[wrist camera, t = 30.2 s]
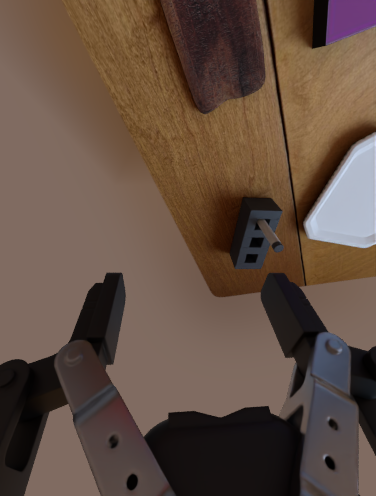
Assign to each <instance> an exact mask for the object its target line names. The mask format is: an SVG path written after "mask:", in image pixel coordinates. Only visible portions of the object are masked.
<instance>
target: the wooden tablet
mask: <svg viewBox="0 0 376 496" xmlns="http://www.w3.org/2000/svg"><path fill="white" fill-rule="evenodd" d="M160 1H161V4H162V7H163V10H164V14H165V16H166V19H167V23H168V26H169V29H170V32H171V35H172V38H173V40H174V43H175V46H176V49H177V52H178V55H179V58H180V61H181V64H182V67H183V70H184V73H185V76H186V79H187V82H188V85H189V88H190V91H191V93H192V96H193V99H194V101H195V103H196V105H197V107H198V109H199V111H200V112H201V113H203V114H207V113H209V112H211V111H212V110H214V109H215V108H217V107H218V106H219V105H220V104H222V103H223V102H224V101H226V100H228V99H235V98H240V97H244V96H247V95H249V94H252V93H254V92H256V91H258V90H259V89H260V88H261V87H262V85H263V84H264V82H265V64H264V52H263V43H262V36H261V30H260V21H259V16H258V9H257V2H256V0H160Z"/></svg>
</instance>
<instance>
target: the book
mask: <svg viewBox="0 0 376 496" xmlns="http://www.w3.org/2000/svg"><path fill="white" fill-rule="evenodd" d="M375 26H376V0H314V16H313V44H312V49H313V48H318V47H322V46H326V45H329V44H332V43H334V42H337V41H339V40H342V39H344V38H347V37H350V36H352V35H355V34H357V33H360V32H363V31H365V30H368V29H370V28H373V27H375Z"/></svg>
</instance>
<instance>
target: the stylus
mask: <svg viewBox="0 0 376 496" xmlns="http://www.w3.org/2000/svg"><path fill="white" fill-rule="evenodd" d="M257 224H258V225H259V227H260V229H261V230H262V232H263V233H264V235H265V237H266V238H267V240H268V241H269V243H270V245H271V246H272V248H273V249H274V251H275V252H280V251H282V250H283V245H282V244H281V242H280V241H279V239H278V238H277V237H276V235H275V234H274V232H273V231H272V229H271V228H270V226H269V225H268V224H267V222H266V221H265V219H257Z"/></svg>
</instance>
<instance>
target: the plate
mask: <svg viewBox="0 0 376 496" xmlns="http://www.w3.org/2000/svg"><path fill="white" fill-rule="evenodd" d="M303 226H304V229H305V232H306V235H307V237H308V238H309V239H314V240H319V241H325V242H331V243H337V244H343V245H349V246H354V247H360V248H367V247H370V246H372V245H374V244H376V131H375V132H373V133H372V134H370V135H368V136H366V137H364V138H362V139H361V140H359V141H357V142H355V143H354V144H353V145H352V146H351V147H350V148H349V150H348V151H347V153H346V154H345V156H344V158H343V159H342V161H341V162H340V164H339V165H338V167H337V169H336V170H335V172H334V173H333V175H332V176H331V178H330V180H329V181H328V183H327V184H326V186H325V187H324V189H323V191H322V192H321V194H320V195H319V197H318V198H317V200H316V202H315V203H314V205H313V206H312V208H311V209H310V211H309V213H308V214H307V216H306V217H305V219H304V220H303Z"/></svg>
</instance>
